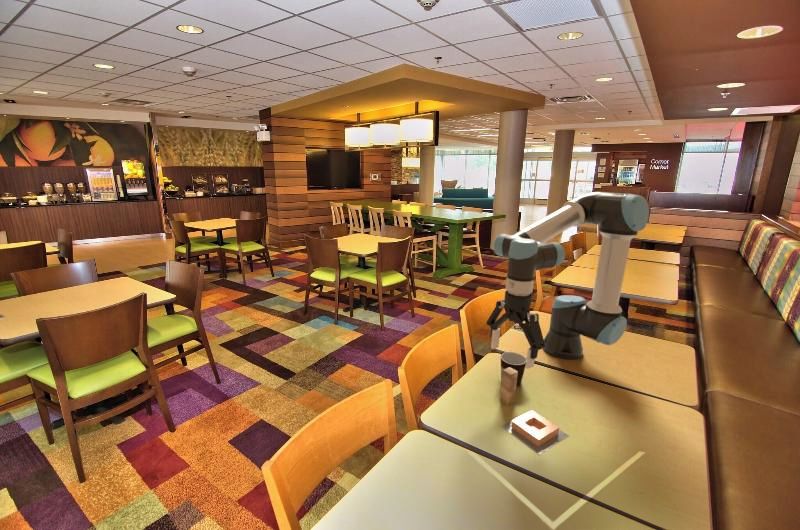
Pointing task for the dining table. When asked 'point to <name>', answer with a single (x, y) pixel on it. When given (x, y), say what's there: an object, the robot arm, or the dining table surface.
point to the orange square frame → (535, 428)
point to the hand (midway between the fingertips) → (511, 357)
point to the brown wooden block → (508, 386)
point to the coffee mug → (513, 364)
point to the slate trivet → (539, 449)
